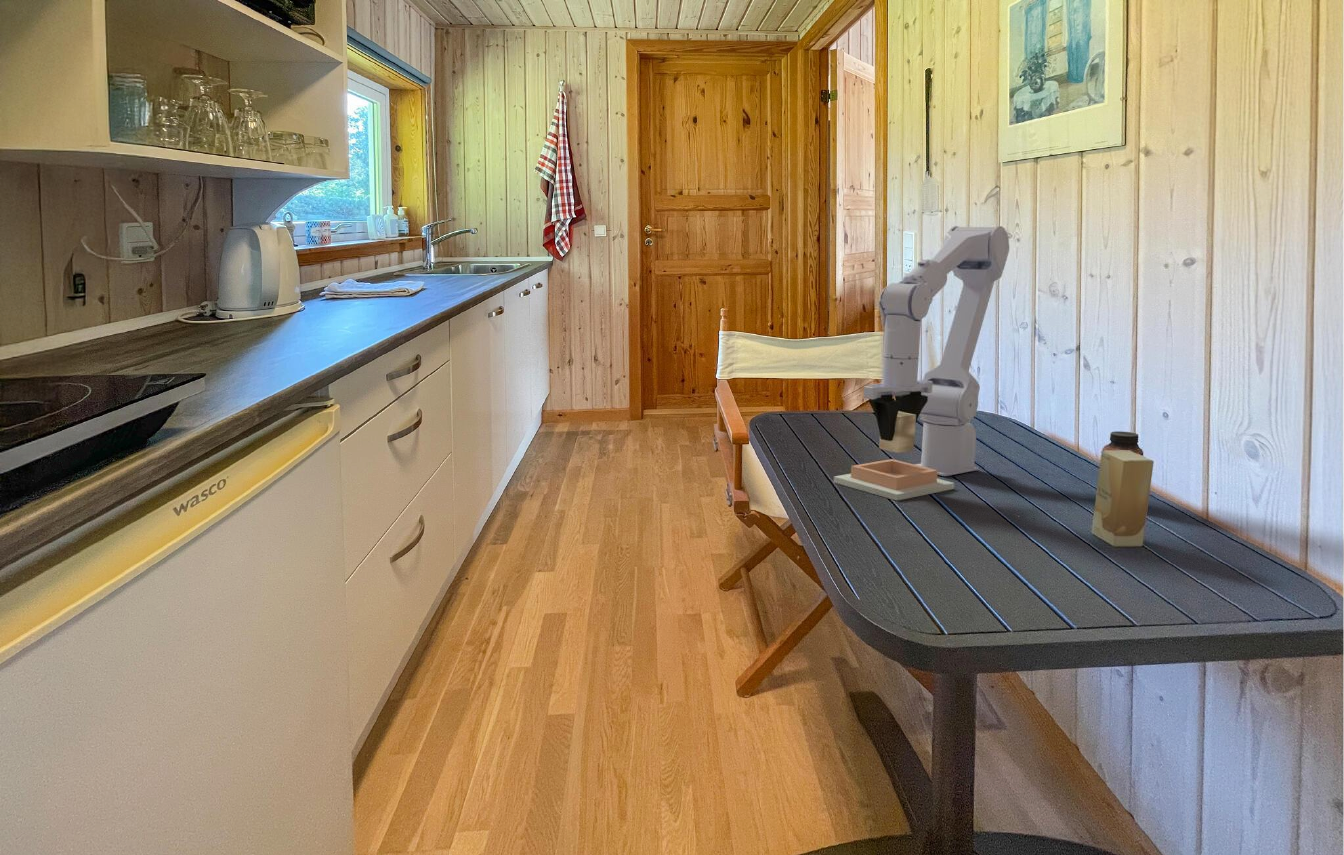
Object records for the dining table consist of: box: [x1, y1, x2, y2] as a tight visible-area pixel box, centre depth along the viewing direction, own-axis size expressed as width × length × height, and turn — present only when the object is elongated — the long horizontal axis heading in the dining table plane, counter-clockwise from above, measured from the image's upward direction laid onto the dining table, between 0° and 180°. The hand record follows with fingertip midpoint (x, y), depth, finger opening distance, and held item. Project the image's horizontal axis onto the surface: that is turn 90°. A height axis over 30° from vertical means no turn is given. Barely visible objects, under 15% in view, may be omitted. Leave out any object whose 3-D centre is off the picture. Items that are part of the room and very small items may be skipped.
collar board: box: [833, 458, 955, 501], centre depth 162 cm, size 14×14×3 cm
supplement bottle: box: [1101, 430, 1144, 456], centre depth 152 cm, size 6×6×11 cm
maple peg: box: [878, 411, 917, 454], centre depth 160 cm, size 4×4×6 cm
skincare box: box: [1091, 450, 1155, 547], centre depth 132 cm, size 6×4×12 cm
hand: (895, 438), depth 161 cm, fingers closed on maple peg, 4 cm apart
